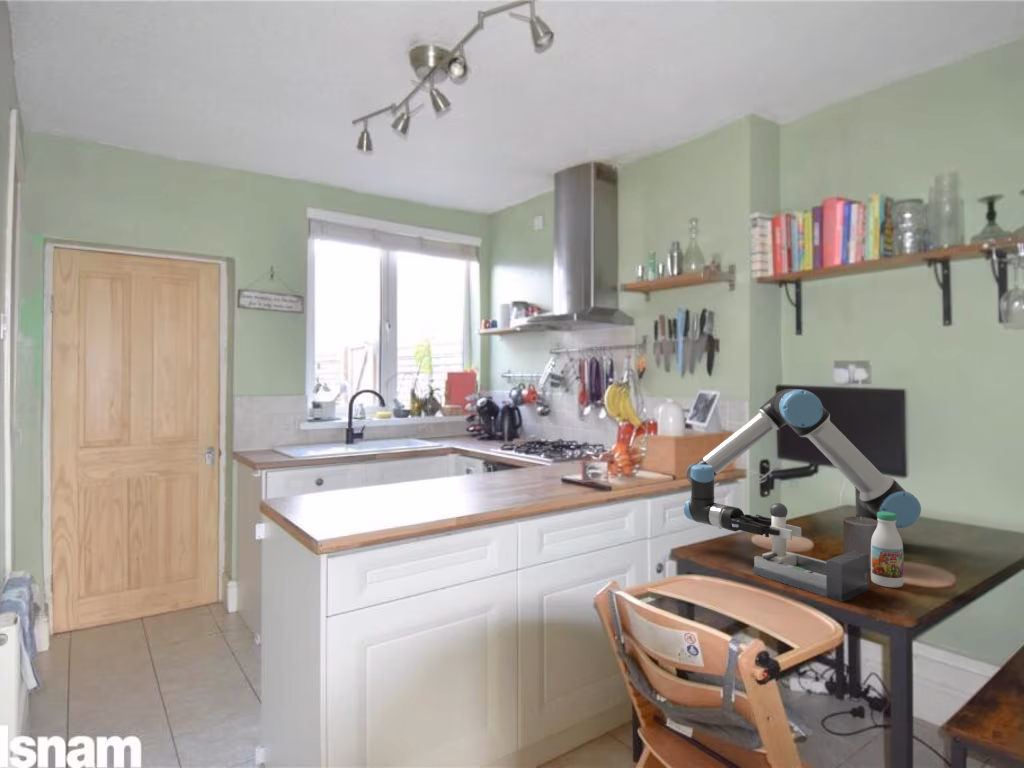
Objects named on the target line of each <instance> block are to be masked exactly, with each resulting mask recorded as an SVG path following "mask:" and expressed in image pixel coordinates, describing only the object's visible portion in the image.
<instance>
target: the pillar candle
mask: <svg viewBox="0 0 1024 768" xmlns="http://www.w3.org/2000/svg"><path fill="white" fill-rule="evenodd" d="M877 525H878V521H876V520H874V519H870V518H866V517H861V516H860V517H856V516H846V517H843V539H842V540H843V543H842V544H843V545H842V546H843V547H842V548H843V551H842V552H843V553H842V554H845V553H848V552H850V551H853V550H854V551H858V552H862V553H867V554H869V570H871V539H872V536H873V533H874V531H875V530H876V528H877Z"/></svg>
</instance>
